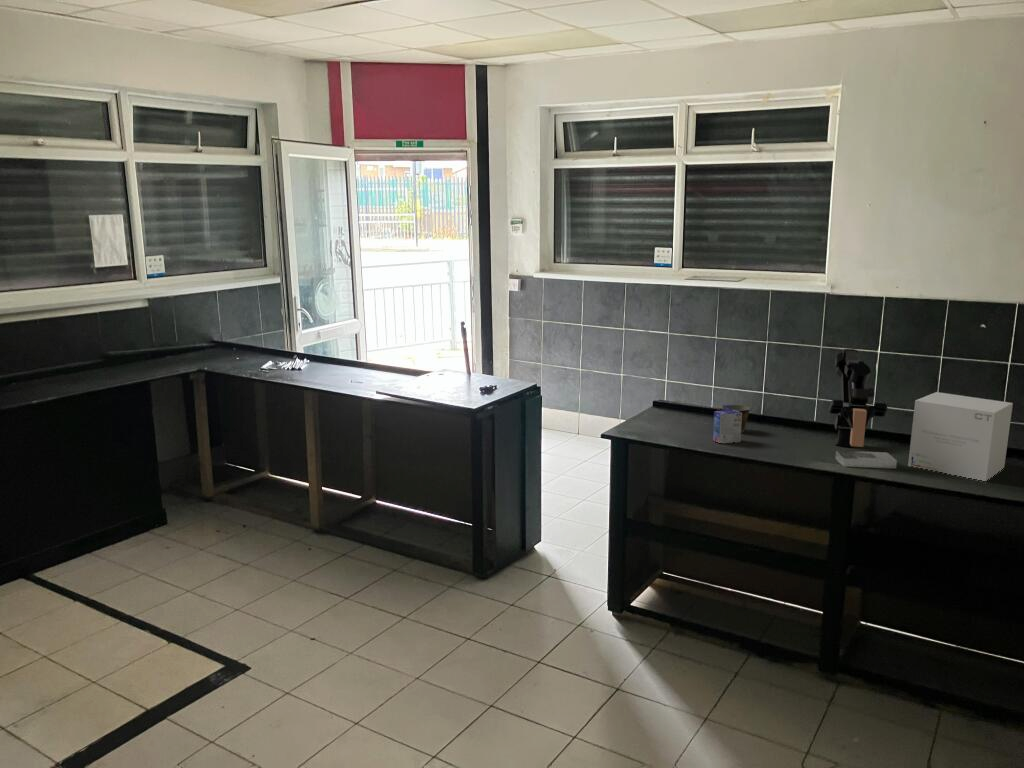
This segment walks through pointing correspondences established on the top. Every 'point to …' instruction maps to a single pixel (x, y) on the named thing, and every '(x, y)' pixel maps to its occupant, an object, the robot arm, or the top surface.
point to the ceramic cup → (744, 413)
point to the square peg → (858, 427)
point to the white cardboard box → (960, 435)
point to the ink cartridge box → (727, 425)
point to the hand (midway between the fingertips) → (858, 428)
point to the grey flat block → (866, 459)
